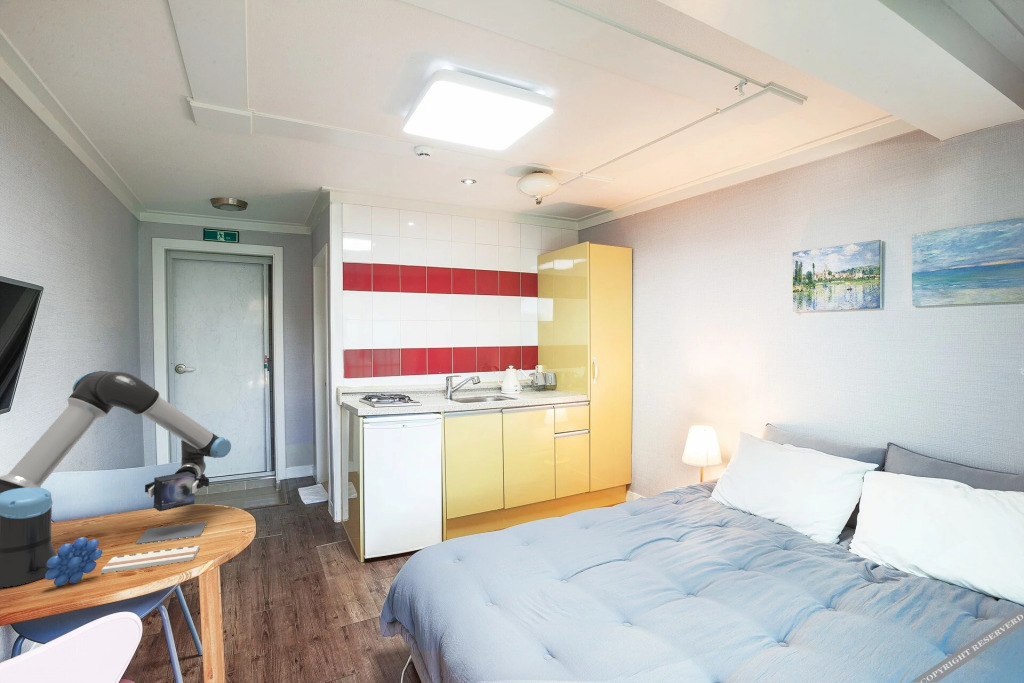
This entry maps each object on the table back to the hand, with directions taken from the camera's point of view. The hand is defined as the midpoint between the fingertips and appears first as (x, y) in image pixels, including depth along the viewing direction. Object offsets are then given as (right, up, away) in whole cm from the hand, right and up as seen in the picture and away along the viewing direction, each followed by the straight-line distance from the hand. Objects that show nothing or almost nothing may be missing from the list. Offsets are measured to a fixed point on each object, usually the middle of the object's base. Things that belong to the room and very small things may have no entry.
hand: (171, 491), depth 164 cm
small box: (-1, -6, +3) cm, 7 cm away
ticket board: (+7, -15, -19) cm, 25 cm away
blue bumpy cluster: (-4, -15, -32) cm, 35 cm away
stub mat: (-2, -15, +3) cm, 16 cm away
